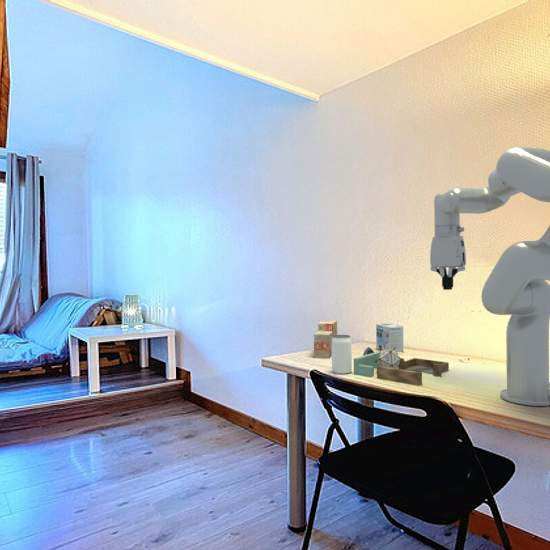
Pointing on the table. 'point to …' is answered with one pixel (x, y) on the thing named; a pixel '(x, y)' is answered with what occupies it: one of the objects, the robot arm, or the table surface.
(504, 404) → the table surface
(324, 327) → the stack of blocks
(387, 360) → the game die
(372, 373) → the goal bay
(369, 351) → the snack package
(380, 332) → the light bulb box
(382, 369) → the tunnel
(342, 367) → the can
